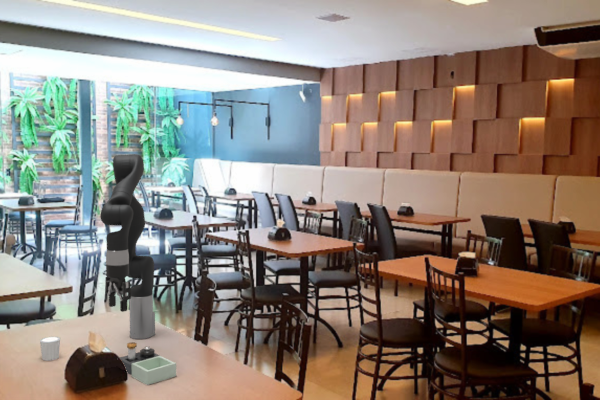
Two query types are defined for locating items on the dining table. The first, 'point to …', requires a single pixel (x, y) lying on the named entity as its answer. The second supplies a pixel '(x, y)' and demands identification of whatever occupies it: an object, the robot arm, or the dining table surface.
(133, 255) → the robot arm
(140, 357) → the dark grey holder block
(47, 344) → the white ribbed cylinder
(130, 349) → the lock pin
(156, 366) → the parts tray
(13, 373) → the dining table surface
